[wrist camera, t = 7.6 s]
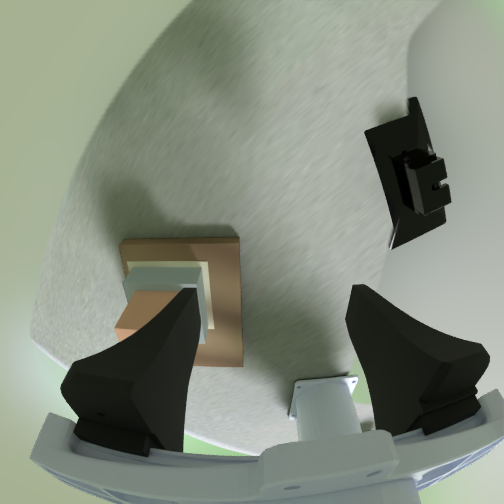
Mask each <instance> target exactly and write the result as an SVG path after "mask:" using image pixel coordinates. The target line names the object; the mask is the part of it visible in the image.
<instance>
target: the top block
mask: <svg viewBox="0 0 504 504" xmlns="http://www.w3.org/2000/svg"><path fill="white" fill-rule="evenodd" d="M178 293H179V292H178V291H135V292H134V294H133V296H132V298H131V299H130V301H129V303H128V305H127V306H126V308H125V310H124V312H123V313H122V315H121V317H120V319H119V321H118V322H117V324H116V326H115V331H116V334H117V336H118V339H119V341H120V342H121V341H122V340H124V339H126V338H127V337H129V336H130V335H132V334H133V333H135V332H136V331H138V330H139V329H140V328H142V327H143V326H144V325H145V324H147V323H148V322H149V321H150V320H151V319H152V318H154V317H155V316H156V315H157V314H158V313H159V312H160V311H161V310H162V309H163V308H164V307H165V306H166V305H167V304H168V303H169V302H170V301H171V300H172V299H173V298H174V297H175V296H176V295H177V294H178Z"/></svg>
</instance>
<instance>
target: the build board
mask: <svg viewBox="0 0 504 504" xmlns="http://www.w3.org/2000/svg"><path fill="white" fill-rule="evenodd" d="M119 249H120V253H121V258H122V262H123V267H124V271H125V275H126V277H127V275H128V274H129V272H130V271H131V270H132V268H133V267H202V274H203V283H204V292H205V301H206V309H207V317H208V331H207V336H206V342H205V344H198V348H197V352H196V356H195V360H194V364H193V366H211V367H243V336H242V308H241V277H240V243H239V237H213V238H160V239H124V240H123V241H122V242H121V243H120V244H119Z"/></svg>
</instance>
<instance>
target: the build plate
mask: <svg viewBox="0 0 504 504" xmlns="http://www.w3.org/2000/svg"><path fill="white" fill-rule="evenodd" d="M364 134H365V136H366V139H367V142H368V144H369V147H370V150H371V153H372V156H373V158H374V161H375V164H376V167H377V170H378V173H379V177H380V180H381V183H382V186H383V190H384V193H385V196H386V200H387V203H388V207H389V211H390V215H391V219H392V223H393V229H392V233H391V236H390V241H389V245H388V248H389V249H390V250H393V249H395V248H397V247H399V246H401V245H403V244H405V243H407V242H409V241H411V240H413V239H415V238H417V237H419V236H421V235H423V234H425V233H427V232H429V231H431V230H433V229H435V228H437V227H439V226H441V225H443V224H445V223H446V213H445V205H447V204H449V203H451V196H450V189H449V185H448V184H446V183H445V184H443V185H441V183H440V181H441V180H443V179H446V178H447V172H446V167H445V162H444V159H443V158H440V157H436V153H434V151H433V147H432V143H431V139H430V135H429V132H428V128H427V125H426V122H425V119H424V116H423V112H422V109H421V107H420V103H419V101H418V98H417V97H415V96H414V97H410V98H407V116H405V117H402V118H399V119H396V120H393V121H390V122H388V123H385V124H382V125H379V126H377V127H374V128H371V129H368V130H366V131H365V132H364ZM428 148H429V149H430V151H431V152H430V151H429V150H428Z"/></svg>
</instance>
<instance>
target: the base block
mask: <svg viewBox="0 0 504 504" xmlns="http://www.w3.org/2000/svg"><path fill="white" fill-rule="evenodd" d="M122 283H123V287H124V291H125V295H126V298H127V302H128V303H129V301H130V299H131V298H132V296H133V294H134V292H135V291H178V292H180V291H181V290H182V289H183V288H184V287H185V288H197V294H198V302H199V309H200V316H201V331H200V339H199V344H205V342H206V336H207V331H208V317H207V309H206V301H205V292H204V283H203V274H202V267H133V268H132V270H131V271H130V272H129V274H128V275H127V277H126V278H125V280H124V281H123V282H122Z"/></svg>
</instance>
